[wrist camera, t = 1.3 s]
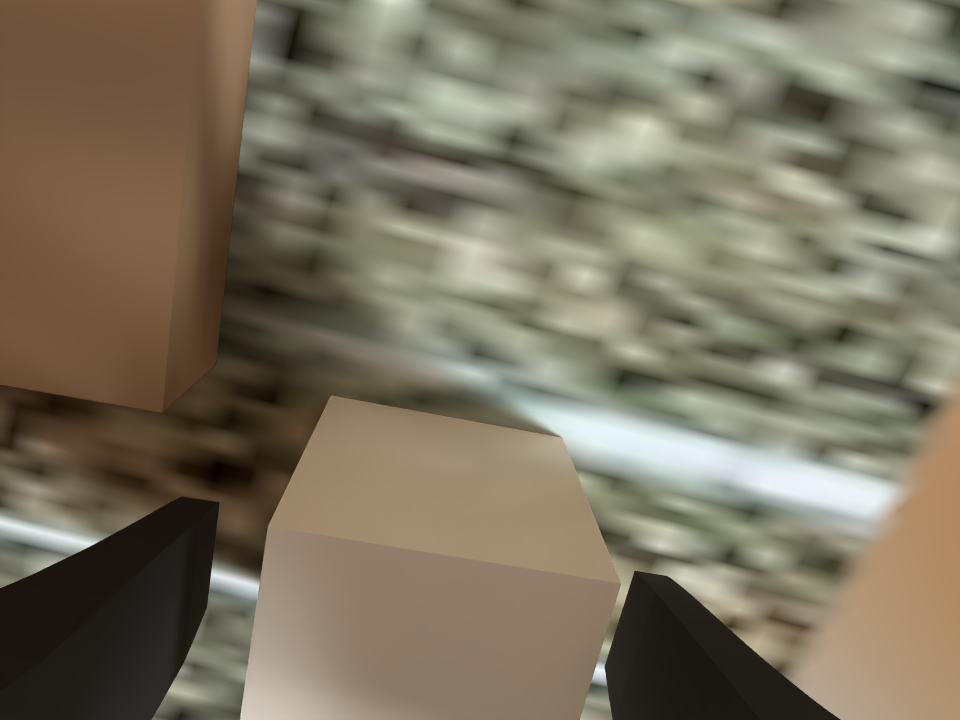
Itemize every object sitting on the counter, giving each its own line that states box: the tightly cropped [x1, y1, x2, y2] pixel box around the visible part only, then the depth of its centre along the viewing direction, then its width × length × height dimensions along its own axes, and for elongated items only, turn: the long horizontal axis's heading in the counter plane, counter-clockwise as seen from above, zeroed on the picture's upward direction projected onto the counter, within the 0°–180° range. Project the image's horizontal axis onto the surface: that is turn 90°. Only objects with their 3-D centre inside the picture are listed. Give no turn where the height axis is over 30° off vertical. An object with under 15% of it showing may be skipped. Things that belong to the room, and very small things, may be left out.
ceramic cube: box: [240, 395, 621, 720], centre depth 12 cm, size 5×5×5 cm
